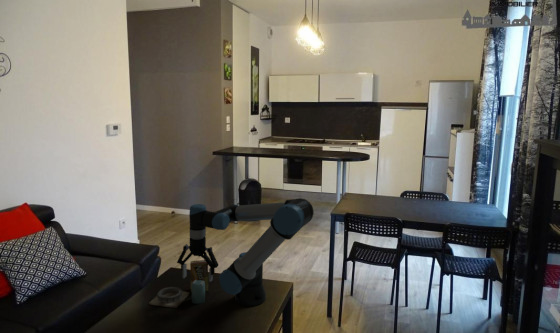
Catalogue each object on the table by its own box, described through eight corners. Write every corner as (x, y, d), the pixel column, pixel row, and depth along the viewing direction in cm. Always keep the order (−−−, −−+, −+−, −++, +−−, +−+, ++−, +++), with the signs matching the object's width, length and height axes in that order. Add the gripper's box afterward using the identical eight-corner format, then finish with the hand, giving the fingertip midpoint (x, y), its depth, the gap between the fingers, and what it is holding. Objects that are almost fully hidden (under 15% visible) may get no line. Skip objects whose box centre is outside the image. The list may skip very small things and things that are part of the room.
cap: (207, 298, 186) (207, 279, 185) (202, 304, 180) (201, 285, 178) (195, 296, 187) (194, 278, 186) (189, 303, 181) (189, 284, 180)
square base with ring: (189, 294, 190) (189, 287, 189) (176, 308, 176) (176, 301, 176) (164, 290, 193) (163, 284, 192) (149, 304, 179) (149, 297, 178)
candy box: (208, 287, 197) (207, 259, 195) (208, 291, 193) (208, 262, 191) (190, 288, 196) (190, 260, 193) (190, 292, 191) (190, 263, 189)
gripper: (225, 236, 180) (224, 278, 183) (177, 231, 185) (177, 272, 188) (219, 242, 173) (219, 285, 176) (169, 236, 178) (170, 279, 181)
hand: (197, 279), depth 182 cm, fingers open, 13 cm apart
